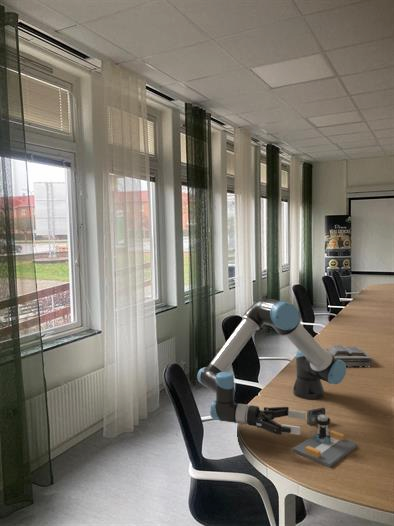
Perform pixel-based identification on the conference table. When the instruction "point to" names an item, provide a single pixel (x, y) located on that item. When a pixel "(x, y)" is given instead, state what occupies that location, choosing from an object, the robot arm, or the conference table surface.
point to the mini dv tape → (314, 415)
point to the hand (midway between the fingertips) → (302, 423)
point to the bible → (350, 355)
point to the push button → (323, 429)
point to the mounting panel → (325, 449)
